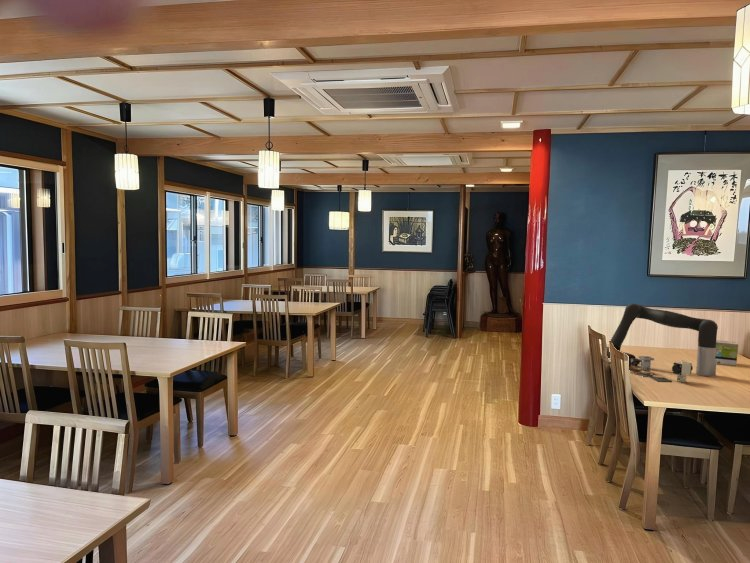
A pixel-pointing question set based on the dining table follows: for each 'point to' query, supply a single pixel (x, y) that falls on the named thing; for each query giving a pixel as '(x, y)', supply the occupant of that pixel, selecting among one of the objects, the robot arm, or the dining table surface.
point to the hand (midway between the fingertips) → (643, 364)
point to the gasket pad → (660, 379)
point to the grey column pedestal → (645, 366)
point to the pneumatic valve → (682, 370)
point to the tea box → (726, 352)
